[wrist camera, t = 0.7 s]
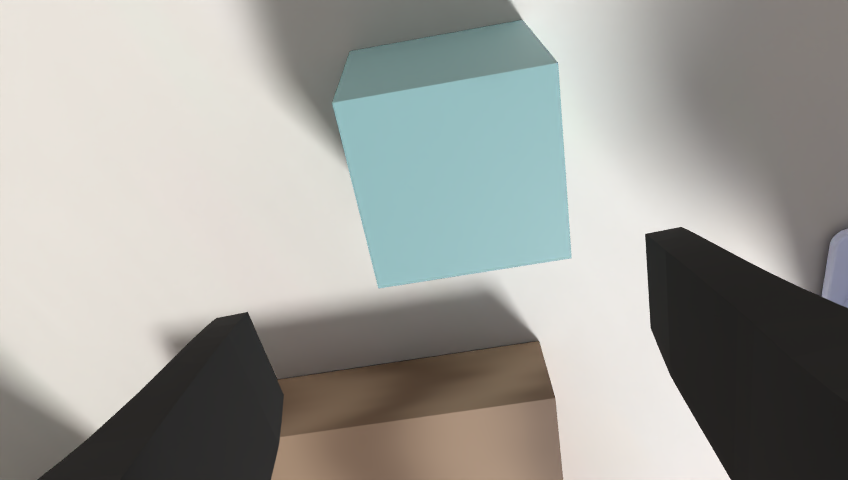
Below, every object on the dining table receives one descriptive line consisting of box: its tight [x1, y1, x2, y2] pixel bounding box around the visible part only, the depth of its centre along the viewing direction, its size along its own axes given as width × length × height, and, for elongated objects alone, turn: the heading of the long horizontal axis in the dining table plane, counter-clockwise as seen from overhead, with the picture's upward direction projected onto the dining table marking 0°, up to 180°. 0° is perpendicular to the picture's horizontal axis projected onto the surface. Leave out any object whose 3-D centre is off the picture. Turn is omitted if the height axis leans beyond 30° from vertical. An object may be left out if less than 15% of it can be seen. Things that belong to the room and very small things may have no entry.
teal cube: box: [332, 20, 571, 288], centre depth 17 cm, size 5×5×5 cm
